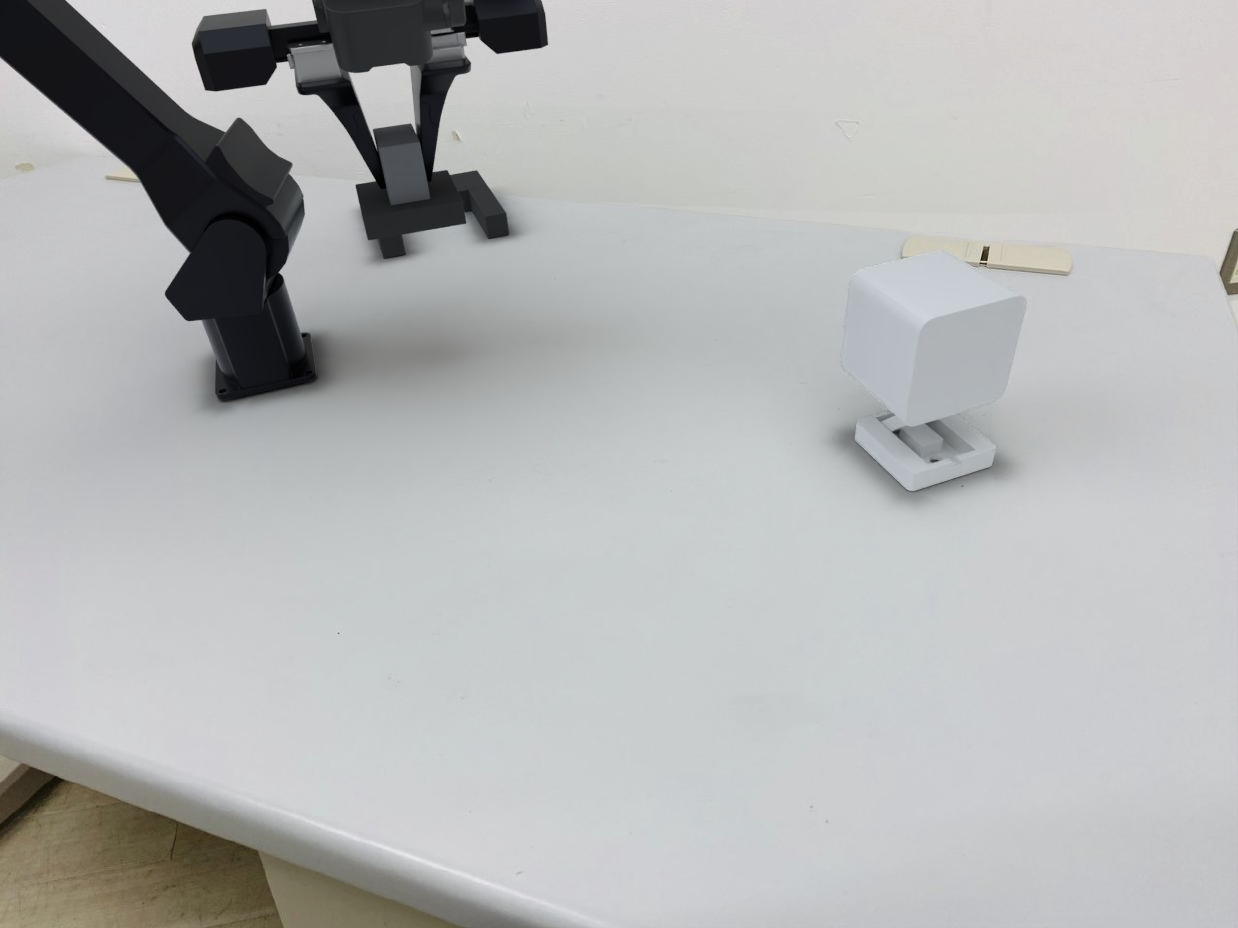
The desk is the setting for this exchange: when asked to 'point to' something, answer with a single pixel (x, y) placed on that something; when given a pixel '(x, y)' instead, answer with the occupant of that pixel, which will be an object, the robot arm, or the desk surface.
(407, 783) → the desk surface
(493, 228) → the black flat u-shaped piece
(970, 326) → the security camera
